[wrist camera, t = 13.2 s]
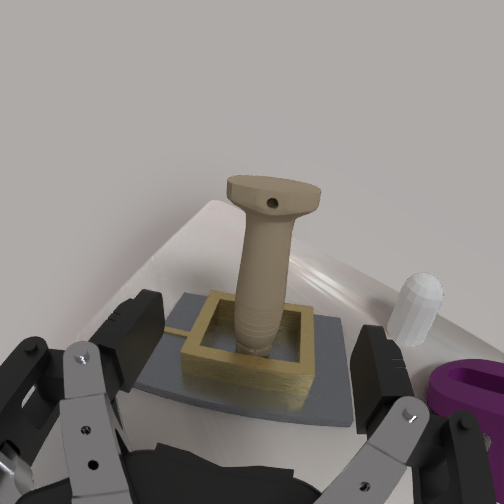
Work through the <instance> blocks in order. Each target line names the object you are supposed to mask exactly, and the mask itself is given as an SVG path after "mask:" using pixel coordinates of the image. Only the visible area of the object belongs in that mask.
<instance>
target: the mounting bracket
mask: <svg viewBox="0 0 504 504" xmlns="http://www.w3.org/2000/svg"><path fill="white" fill-rule="evenodd" d="M427 402H428V405H429V406H430V408H431V409H432V410H433V411H434V412H436V413H437V414H438V415H440V416H443V417H447V418H449V417H450V416H451V414H452V413H453V412H455V411H456V410H467V411H469V412H471V413H472V414H473V415H474V416H475V417H476V418H477V420H478V422H479V425H480V428H481V432H482V433H485V434H487V435H489V436H490V438H491V440H492V443H491V446H490V448H489V451H488V453H487V455H488V459H489V464H490V469H491V473H492V479H493V484H494V490H495V496H496V502H498V503H500V504H504V363H499V362H495V361H490V360H483V359H464V360H457V361H452V362H449V363H446V364H443V365H441V366H439V367H438V368H436V369H435V370H434V371H433V372H432V374H431V376H430V381H429V388H428V393H427Z"/></svg>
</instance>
